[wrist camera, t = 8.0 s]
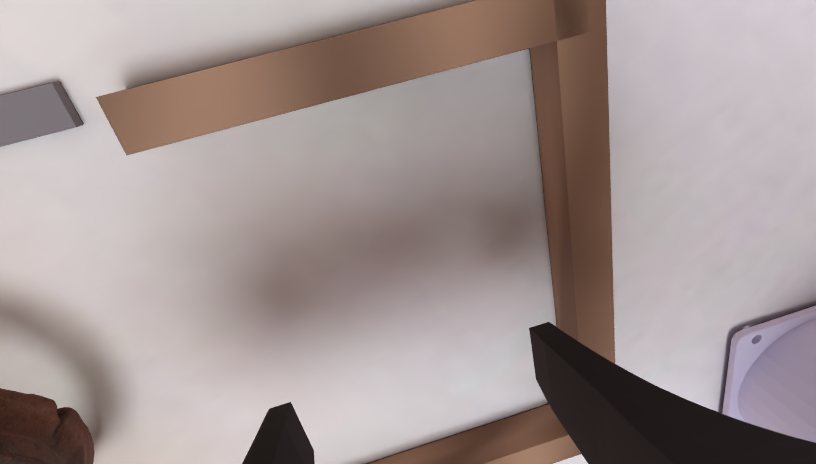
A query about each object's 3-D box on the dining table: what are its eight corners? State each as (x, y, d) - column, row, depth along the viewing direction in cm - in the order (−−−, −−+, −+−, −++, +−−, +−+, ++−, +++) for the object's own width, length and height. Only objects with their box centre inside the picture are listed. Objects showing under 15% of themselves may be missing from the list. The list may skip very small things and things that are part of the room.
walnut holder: (570, -24, 13) (604, -33, 12) (594, 411, 21) (617, 441, 20) (125, 89, 12) (95, 97, 11) (328, 500, 20) (329, 539, 19)
